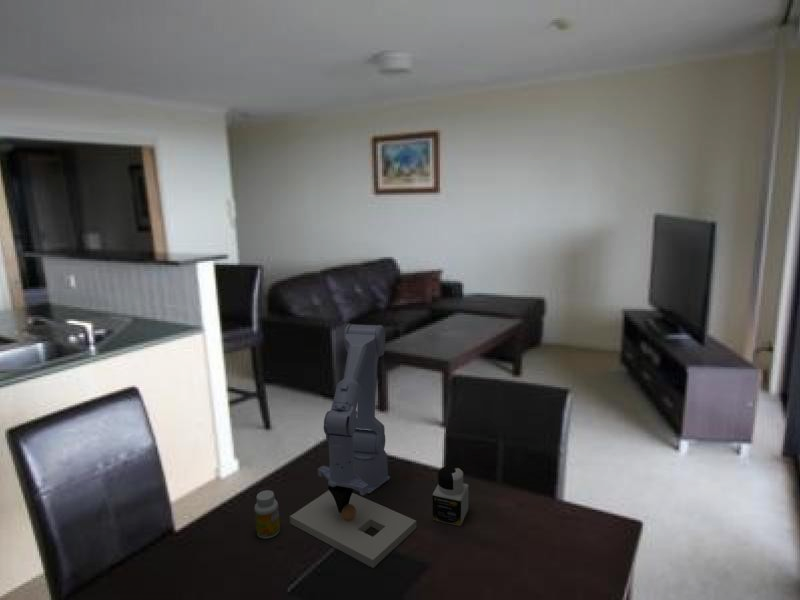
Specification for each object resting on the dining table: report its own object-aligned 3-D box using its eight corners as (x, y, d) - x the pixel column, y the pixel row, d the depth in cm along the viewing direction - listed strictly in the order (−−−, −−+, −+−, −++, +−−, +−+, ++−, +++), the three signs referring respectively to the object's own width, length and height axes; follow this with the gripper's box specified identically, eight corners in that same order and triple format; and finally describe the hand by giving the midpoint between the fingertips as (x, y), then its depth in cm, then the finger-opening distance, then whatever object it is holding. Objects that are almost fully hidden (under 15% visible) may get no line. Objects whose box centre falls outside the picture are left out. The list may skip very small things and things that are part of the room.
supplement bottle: (251, 535, 121) (248, 498, 119) (267, 522, 126) (264, 486, 123) (269, 542, 118) (266, 504, 116) (284, 528, 123) (281, 491, 121)
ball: (358, 503, 123) (359, 518, 123) (348, 500, 125) (349, 514, 125) (347, 508, 120) (348, 523, 120) (337, 504, 123) (338, 519, 123)
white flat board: (290, 523, 125) (289, 516, 124) (336, 492, 137) (335, 485, 137) (373, 568, 109) (372, 560, 109) (416, 528, 122) (416, 520, 121)
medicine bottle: (432, 520, 125) (431, 475, 122) (441, 503, 131) (440, 460, 129) (461, 526, 122) (461, 481, 119) (468, 509, 128) (468, 465, 126)
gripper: (307, 456, 122) (310, 508, 125) (353, 475, 113) (354, 531, 116) (328, 445, 127) (330, 495, 130) (373, 462, 119) (375, 515, 121)
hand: (343, 511), depth 123 cm, fingers closed, pressing on ball
